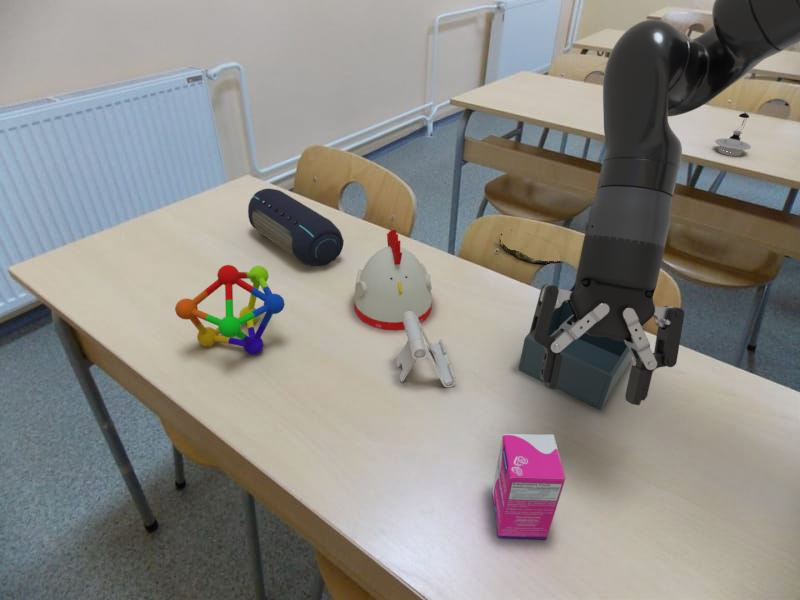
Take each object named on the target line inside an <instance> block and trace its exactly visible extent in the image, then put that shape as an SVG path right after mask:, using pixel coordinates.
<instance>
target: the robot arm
mask: <svg viewBox="0 0 800 600" xmlns="http://www.w3.org/2000/svg"><path fill="white" fill-rule="evenodd" d="M711 19H712V26H711V27H710V28H709V29H707V30H706V31H705V32H704V33H702V34H701V35H699V36H697V37H694V38H691V37H690V36H688V35H687V34H685V33H683V31H681V30H679V29H678V28H677V27H675V26H674V25H672V24H670V23H669V22H666V21H664V20H661V19H646V20H642V21H639V22H638V23H636V24H634V25H632V26H631V27H629V28H628V29H627V30H626V31H625V32H624V33H623V34H622V35H621V36H620V37H619V38H618V40H617V41H616V43H615V45H614V46H613V47H612V49H611V51H610V54H609V57H608V59H607V61H606V64H605V69H604V73H603V81H602V111H603V113H602V114H603V133H604V141H605V143H604V144H605V148H604V149H605V150H604V155H603V158H602V163H601V166H600V167H601V168H600V172H599V176H598V181H597V186H596V191H595V195H594V198H593V201H592V203H591V206H590V209H589V214H588V218H587V221H586V223H585V226H584V237H583V242H582V247H581V251H580V256H579V261H578V265H577V271H576V275H575V282H574V283H573V286H572V288H571V289H564V288H560V287H558V286H556V285H553V284H548V283H546V284H543V285H541V288H540V292H539V296H538V299H537V303H536V307H535V310H534V315H533V317H532V322H531V325H530V329H529V333H528V334H529V335H530V337H531V338H532V339H533V340H534V341H536V342H537V343H539V344H541V345H542V346H543V347H544V349H545V352H544V357H543V362H542V367H541V372H540V376H541V379H542V380H543V381H544V382H543V381H542V382H543V384H544V386H545V387H546V389H549V390H556V389H557V388H556V386H557V381H558V376H559V372H560V367H561V362H562V357H563V355H562V354H561V353H560V352H561V351H562V350H563V349H564V348H565V347H567V346H568V345H569V344H570V343H571V342H572V341H574V340H576V339H578V338H579V337H580V336H582V335H583V334H584V333H586V334H588V335H590V336H594V337H608V338H611V339H613V340H617V341H622V340H624V342H625V344H626V345H627V347H628V348H629V349H630V351H631V353H632V356H633V357H632V359H633V360H634V361H635V365H634V364H631V367H630V371H629V377H628V380H627V385H626V390H625V394H624V399H625V401H626V402H628V403H629V404H630V405H635V406H640V404H641V403H642V401H645V400H646V399H647V397H648V394H649V390H650V385H651V383H652V381H651V380H652V377H653V373H654V371H655V370H656V369H659V368H665V367H668V368H673V367H675V366H676V365H677V361H678V356H679V349H680V343H681V337H682V332H683V326H684V325H683V324H684V319H685V310H684V309H683V308H681V307H677V306H673V305H664V306H661V305H655V303H654V294H655V291H656V289H657V285H658V281H659V276H660V271H661V268H662V267H661V266H662V263H663V258H664V254H665V249H666V243H667V239H668V235H669V230H670V226H671V222H672V221H671V219H672V207H673V205H672V204H673V199H674V193H675V188H676V184H677V180H678V175H679V170H680V167H681V162H682V157H683V154H682V153H683V145H682V142H681V141H680V139H679V138H678V136H677V135H676V134H675V132H674V131H673V130H672V128H671V126H670V124H669V123H670V122H669V117H675V116H680V115H684V114H686V113H689V112H692V111H695V110H697V109H698V108H701V107H702V106H704V105H705V104H707V103H709V102H710V101H712V100H713V99H715V98H716V97H717V96H719V95H720V94H721V93H722V92H724V91H725V90H727V89H728V88H730V87H731V86H732V85H733V84H735V83H736V82H737V81H739V80H740V79H742V78H743V77H744V76H746V75H747V74H748V73H749V72H750V71H752V70H753V69H754V68H755V67H756V66H758V65H759V64H760V63H762V62H763V61H764V60H766V59H767V58H770V57H773V56H775V55H777V54H780V53H781V52H784V51H785V50H787V49H789V48H791V47H794V46H796V45H797V44H799V43H800V0H714V1H713V5H712V11H711ZM565 300H567V301H568V304H569V306H570V308H571V310H572V312H573V315H572V316H570V317H569V318H568V319H567V320H566V321H565V322H564V323H563V324H561V325H560V327H559V329H558V330H557V331H555V332H554V333H553V334H552V335H551V336H549V335H547V334H548V331H549V327H550V323H551V319H552V316H553V312H554V308H559V307H560V306H561V305H562V303H563V302H564V301H565ZM652 318H654V324H655V325H656V326H657V332H656V339H655V344H654V351H653V350H652V349H651V343H650V341H649V338H648V337H647V334H646V333H645V331H644V329H643V326H644V325H645V324H646V323H647V322H648V321H650V319H652ZM572 323H573V324H572Z"/></svg>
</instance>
